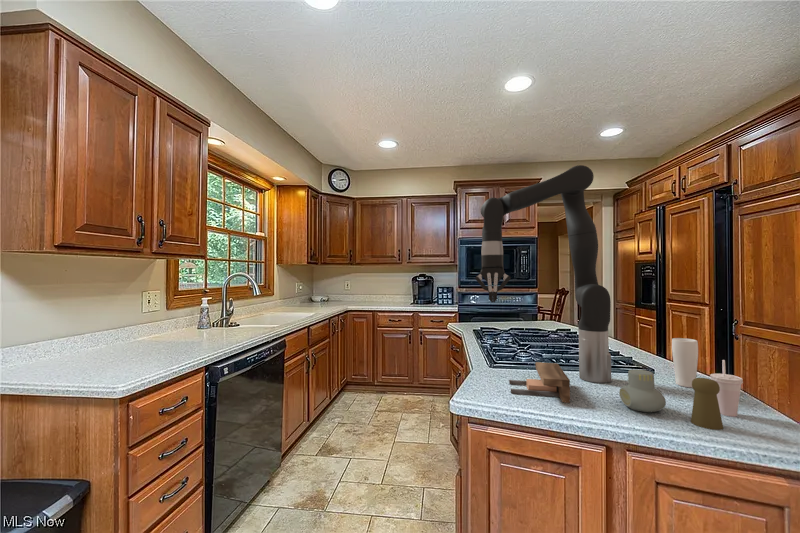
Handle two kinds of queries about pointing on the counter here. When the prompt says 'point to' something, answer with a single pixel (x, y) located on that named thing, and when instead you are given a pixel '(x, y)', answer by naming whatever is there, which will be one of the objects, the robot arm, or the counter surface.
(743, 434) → the counter surface
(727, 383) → the smoothie
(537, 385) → the light orange flat block
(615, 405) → the counter surface
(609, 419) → the counter surface
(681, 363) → the drinking glass
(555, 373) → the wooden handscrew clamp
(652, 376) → the air freshener
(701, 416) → the cork
